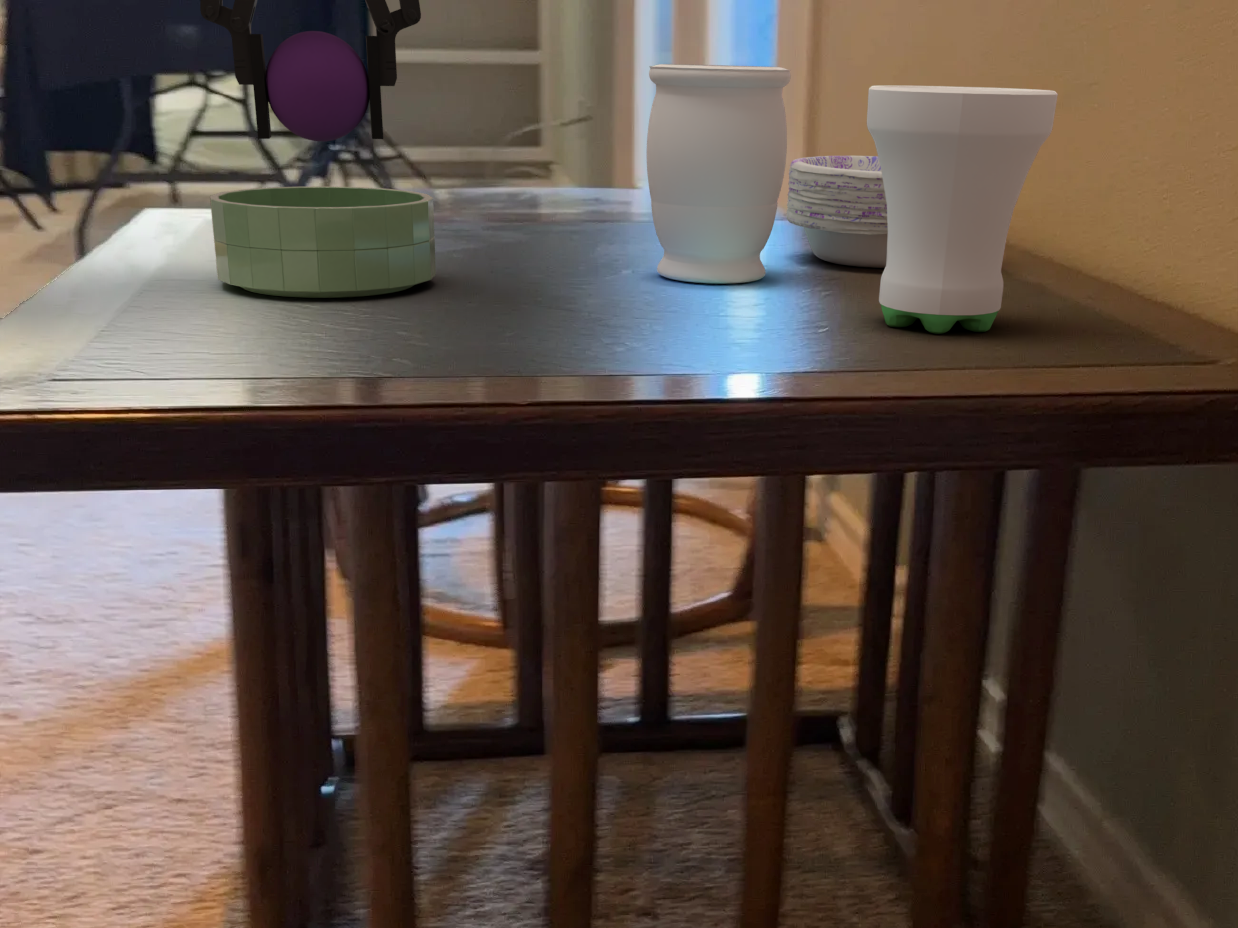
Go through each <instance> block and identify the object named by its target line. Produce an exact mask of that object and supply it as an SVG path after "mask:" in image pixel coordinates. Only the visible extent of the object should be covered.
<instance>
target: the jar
mask: <svg viewBox="0 0 1238 928" xmlns="http://www.w3.org/2000/svg"><path fill="white" fill-rule="evenodd" d="M791 76H792V75H791V69H787V68H785V67H781V66H763V65H762V66H759V65H758V66H757V65H756V66H755V65H721V64H680V63H679V64H677V63H674V64H673V63H660V64H655V65H649V71H648V77H649V79H650V81H651V82H652V83H653V84H655V94H654V98H653V100H652V104H651V108H650V114H649V118H648V119H649V120H648V127H647V137H646V173H647V180H648V181H647V182H648V189H649V196H650V205H651V207H650V208H651V214H652V215H651V216H652V221H653V226H654V231H655V233H656V236H657V239H658V241H659V244H660V246H661V247H662V249H663V256H662V258H661V260H660V261H659V262H658V263H657V267H656V272H657V273H658V275H660V276H662V277H664V278H667V279H670V280H675V281H679V282H688V283H695V284H696V283H699V284H722V285H723V284H726V285H727V284H742V283H750V282H755V281H758V280H761V279H763V278H765V276H766V268H765V266H764V264H763V262H762V260H761V253H762V251H763V250H764V249H765V247H766V244H767V243H768V241H769V238H770V236H771V234H772V231H773V227H774V224H775V220H776V216H777V211H778V200H779V198H780V194H781V191H782V186H783V182H784V178H785V177H784V176H785V171H786V163H787V154H788V153H787V149H788V131H787V130H788V129H787V115H786V114H787V113H786V107H785V102H784V99H783V90H784V88H785V87H786V86H788V84H789V83H790V82H791Z"/></svg>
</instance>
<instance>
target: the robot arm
mask: <svg viewBox="0 0 1238 928" xmlns="http://www.w3.org/2000/svg"><path fill="white" fill-rule="evenodd" d="M223 1H224V0H200V1H199V11H200V15H201V16H202V18H203V19H204V20H205V21H209V22H211V23H213V24H215V25H218V26H221V27H223V28H225V29H226V30H227V31H228V32H229V34H230V36H231V45H232V56H233V66H234V77H235V79H236V81H237V83H238V85H241V86H252V87H253V97H254V99H253V100H254V108H255V109H254V110H255V120H256V132H257V139H259V140H266V139H267V140H269V139H271V137H272V128H271V116H270V104H269V102H268V98H267V95H266V85H265V74H266V69H267V66H266V56H265V45H264V34H262V33H252V22H253V19H254V16H255V12H256V7H257V4H258V0H234V2H233V5H232V8H230V7H227V6H225V5H223ZM364 1H365V4H366V7H367V9H368V11H369V14H370V16H371V20H372V22H373V24H374V26H375V31H376V32H375V35H365V43H366V44H365V45H366V46H365V47H366V63H367V64H366V65H367V73H368V78H369V94H370V99H369V114H370V115H369V117H370V131H371V132H370V133H371V134H370V135H371V139H372V140H384V126H383V107H382V89H381V87H395V86H396V82H397V80H398V70H397V68H398V67H397V51H396V37H397V34H398V33H399V32H400V31H402V30H404V29H406V28H409V27H411V26H415V25H417V24H418V23H419V22H420V21H421V18H422V12H421V6H420V0H399V1H398V3H399V8H398V9H396V10H393V11H390V8H389V6H388V4H387V1H386V0H364Z"/></svg>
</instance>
